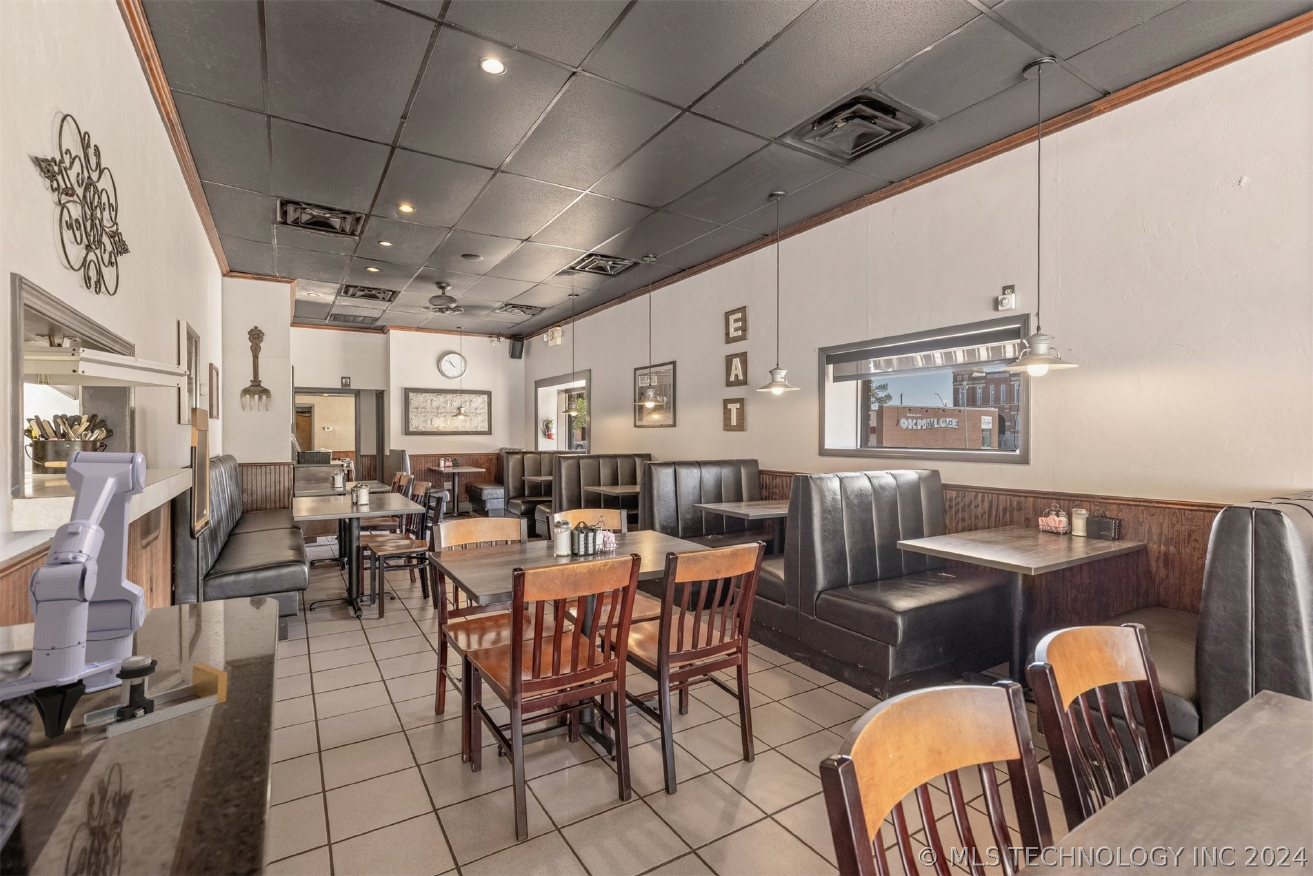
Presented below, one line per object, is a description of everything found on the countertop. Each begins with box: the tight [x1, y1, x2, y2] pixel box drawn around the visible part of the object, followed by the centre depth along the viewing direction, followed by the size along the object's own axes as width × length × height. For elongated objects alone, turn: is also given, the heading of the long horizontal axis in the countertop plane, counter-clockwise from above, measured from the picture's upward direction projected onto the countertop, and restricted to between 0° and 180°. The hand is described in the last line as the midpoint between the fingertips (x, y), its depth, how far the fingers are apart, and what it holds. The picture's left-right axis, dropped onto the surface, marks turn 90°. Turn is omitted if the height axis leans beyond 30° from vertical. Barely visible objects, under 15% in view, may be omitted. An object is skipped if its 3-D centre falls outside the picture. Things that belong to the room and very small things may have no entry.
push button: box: [105, 654, 158, 729], centre depth 98 cm, size 7×5×10 cm
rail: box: [83, 662, 228, 739], centre depth 102 cm, size 9×16×5 cm, turn 152°
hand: (54, 735), depth 90 cm, fingers closed
